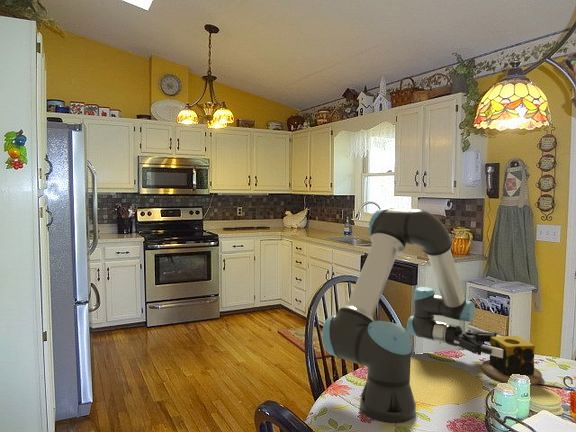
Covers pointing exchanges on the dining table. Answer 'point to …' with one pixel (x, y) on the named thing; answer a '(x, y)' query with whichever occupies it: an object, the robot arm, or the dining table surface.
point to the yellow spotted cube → (513, 355)
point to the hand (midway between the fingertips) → (509, 348)
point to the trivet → (499, 376)
